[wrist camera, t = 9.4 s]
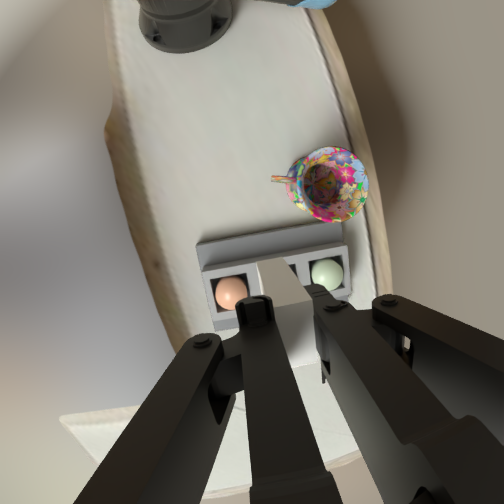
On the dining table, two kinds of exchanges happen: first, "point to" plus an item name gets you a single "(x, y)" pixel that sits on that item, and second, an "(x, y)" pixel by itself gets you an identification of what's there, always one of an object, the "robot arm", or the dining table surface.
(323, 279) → the pale green rounded piece
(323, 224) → the panel
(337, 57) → the dining table surface
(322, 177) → the mug
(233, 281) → the brown egg
